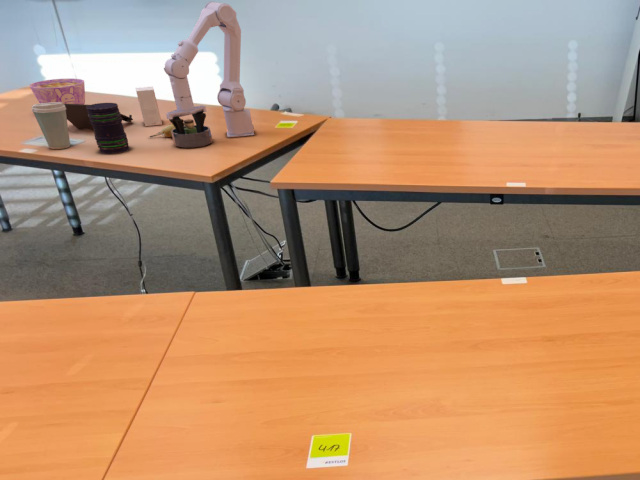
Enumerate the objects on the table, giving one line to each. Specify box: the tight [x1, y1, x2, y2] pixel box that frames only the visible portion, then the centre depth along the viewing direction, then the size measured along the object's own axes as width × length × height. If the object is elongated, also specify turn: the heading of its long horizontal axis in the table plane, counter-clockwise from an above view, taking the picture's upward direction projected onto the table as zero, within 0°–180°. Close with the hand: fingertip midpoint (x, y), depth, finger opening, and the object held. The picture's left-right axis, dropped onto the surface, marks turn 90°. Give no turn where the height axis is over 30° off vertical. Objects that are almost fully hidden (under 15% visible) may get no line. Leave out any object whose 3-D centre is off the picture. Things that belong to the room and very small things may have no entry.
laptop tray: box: [64, 104, 134, 131], centre depth 279 cm, size 23×23×9 cm
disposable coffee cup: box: [30, 102, 71, 150], centre depth 254 cm, size 11×11×15 cm
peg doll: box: [183, 118, 197, 134], centre depth 260 cm, size 4×4×8 cm
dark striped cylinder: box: [86, 102, 131, 155], centre depth 251 cm, size 10×10×15 cm
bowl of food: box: [29, 78, 86, 105], centre depth 300 cm, size 20×20×12 cm
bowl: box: [171, 124, 214, 149], centre depth 261 cm, size 13×13×5 cm
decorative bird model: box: [149, 122, 185, 138], centre depth 269 cm, size 4×13×10 cm
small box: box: [135, 86, 163, 127], centre depth 284 cm, size 8×6×13 cm
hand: (192, 136), depth 261 cm, fingers open, 7 cm apart
